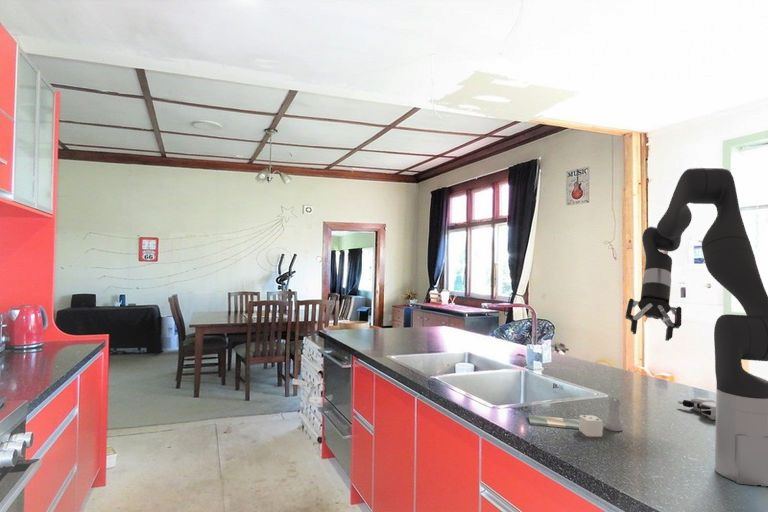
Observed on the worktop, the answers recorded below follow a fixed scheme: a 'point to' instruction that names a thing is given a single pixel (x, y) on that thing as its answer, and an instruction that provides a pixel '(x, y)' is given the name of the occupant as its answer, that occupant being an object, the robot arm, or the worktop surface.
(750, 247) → the robot arm
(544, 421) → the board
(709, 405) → the robot toy
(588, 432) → the die
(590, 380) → the worktop surface
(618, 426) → the rook chess piece
